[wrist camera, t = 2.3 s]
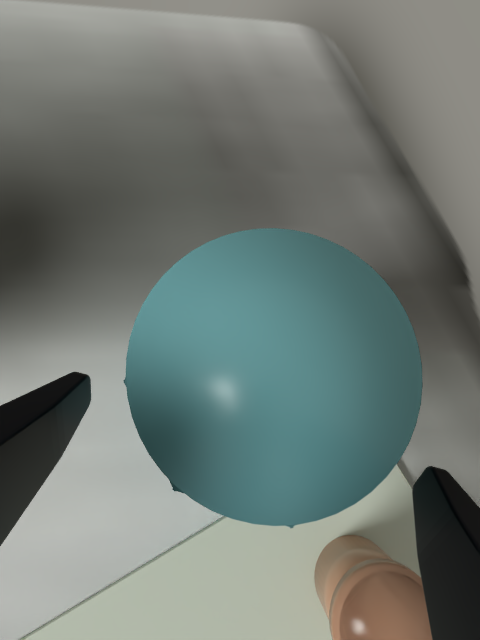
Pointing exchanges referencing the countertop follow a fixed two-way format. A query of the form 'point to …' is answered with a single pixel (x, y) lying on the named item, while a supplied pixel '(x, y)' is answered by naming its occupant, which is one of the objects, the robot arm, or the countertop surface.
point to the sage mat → (240, 578)
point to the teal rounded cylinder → (273, 377)
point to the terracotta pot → (369, 593)
